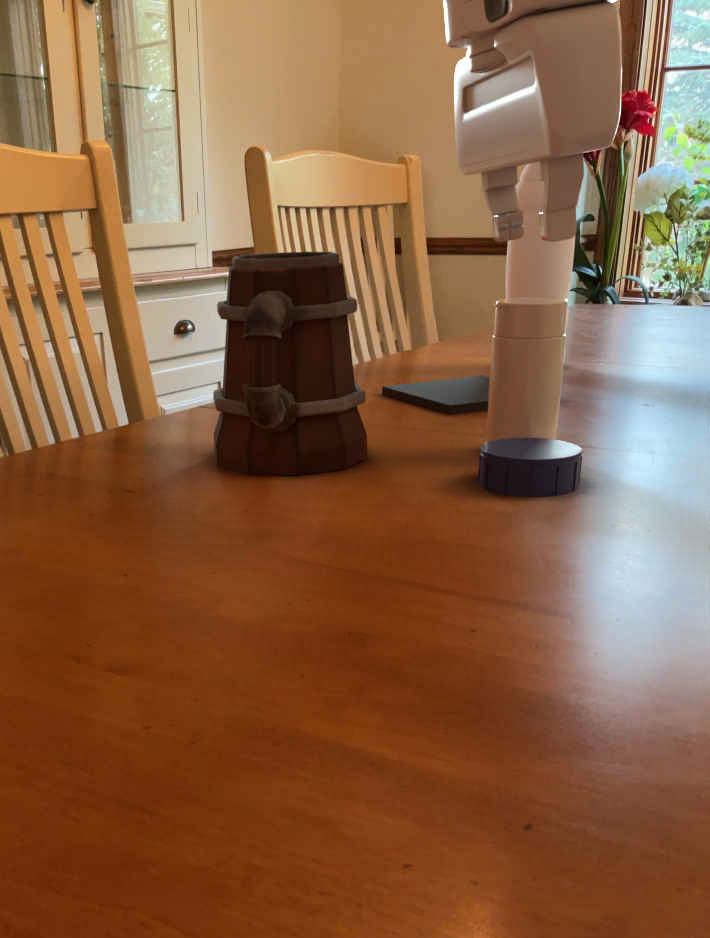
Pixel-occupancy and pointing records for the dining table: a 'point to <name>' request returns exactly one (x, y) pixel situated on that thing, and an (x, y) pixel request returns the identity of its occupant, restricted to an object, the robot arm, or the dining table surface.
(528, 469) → the jam lid
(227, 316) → the mug
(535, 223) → the water bottle
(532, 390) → the jam jar
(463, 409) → the plate
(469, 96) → the robot arm
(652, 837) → the dining table surface
